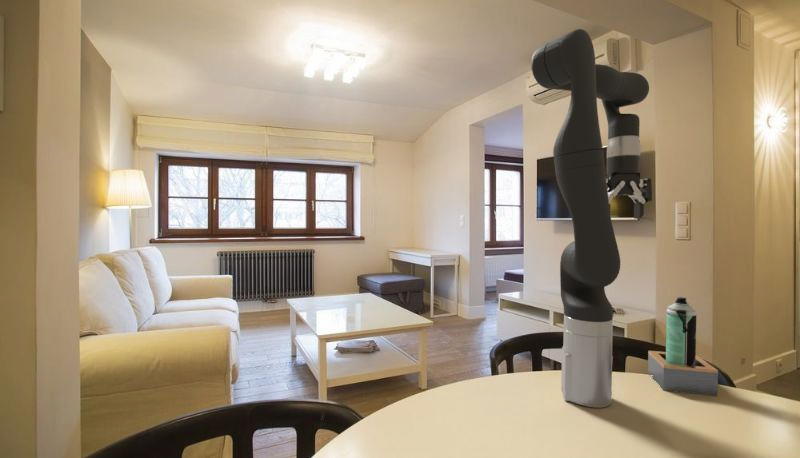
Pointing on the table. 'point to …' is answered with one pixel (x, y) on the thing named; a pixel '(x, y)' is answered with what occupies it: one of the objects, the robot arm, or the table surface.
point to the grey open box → (683, 375)
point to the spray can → (681, 333)
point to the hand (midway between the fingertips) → (622, 218)
